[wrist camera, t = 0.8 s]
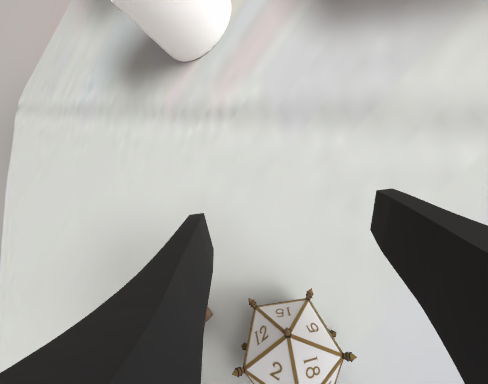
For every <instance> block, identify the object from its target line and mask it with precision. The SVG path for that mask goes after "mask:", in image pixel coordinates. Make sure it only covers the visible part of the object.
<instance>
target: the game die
mask: <svg viewBox="0 0 488 384" xmlns="http://www.w3.org/2000/svg"><path fill="white" fill-rule="evenodd" d="M312 295H314V294H313V292H312V288H311V289H310V290H309V291H307V294H306V298H305V299H299V300H292V301H286V302H279V303H273V304H266V305H260V306H257V305H256V302H255V301H254V300H252V299H250V298H249V305H251V307H253V308H254V313H253V318H252V323H251V328H250V333H249V338H248V343H246V344H245V343H244V344H243V345H242V346H241V347H242V348H243V350H246V354H245V359H244V364H243V367H242V368H241V367H238V368H235V371H234V372H233V374H232V375H235V376H237V377H239V376H240V375H241V376H242V374H243V373H245V374H246V375H247V376H248V378H249V379H250V380H251V382H252V383H253V384H336V381H337V378H338V374H339V371H340V368H341V365H342V362H343V359H345V360H347V361H351V362H352V361H353V360H354V359H355V358H357V357H356V356H355V355H353V354H352V352H349V353H348V352H345V353H343V352H342V351H341V349H340V347H339V346H338V344H337V343H336V341H335V339H334V338H333V337H336V332H334V331H332V330H331V331H329V330H328V328H327V327H326V325H325V323H324V322H323V320H322V319H321V317H320V316H319V314H318V312H317V311H316V309H315V308H314V306H313V304H312V303H311V301H310V299H311V298H312Z"/></svg>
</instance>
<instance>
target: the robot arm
mask: <svg viewBox="0 0 488 384" xmlns="http://www.w3.org/2000/svg"><path fill="white" fill-rule="evenodd" d="M370 230H371V232H372V234H373V236H374V238H375V240H376V242H377V244H378V245H379V247H380V249H381V251H382V252H383V254H384V255H385V256H386V258H387V259H388V261H389V262H390V263H391V265H392V266H393V268H394V269H395V270H396V272H397V273H398V274H399V276H400V277H401V279H402V280H403V281H404V283H405V284H406V285H407V287H408V288H409V290H410V291H411V292H412V294H413V295H414V296H415V298H416V299H417V301H418V302H419V304H420V305H421V307H422V308H423V310H424V311H425V313H426V315H427V316H428V318H429V320H430V321H431V323H432V325H433V326H434V328H435V330H436V332H437V333H438V335H439V337H440V338H441V340H442V342H443V344H444V346H445V347H446V349H447V351H448V353H449V355H450V357H451V358H452V360H453V362H454V364H455V366H456V367H457V369H458V371H459V373H460V375H461V377H462V379H463V381H464V383H465V384H488V226H487V225H484V224H482V223H479V222H476V221H473V220H471V219H468V218H465V217H463V216H460V215H457V214H455V213H452V212H450V211H447V210H445V209H442V208H440V207H437V206H435V205H433V204H430V203H428V202H425V201H423V200H421V199H418V198H416V197H413V196H411V195H408V194H406V193H403V192H400V191H398V190H395V189H385V190H377V191H376V197H375V204H374V210H373V216H372V223H371V229H370ZM212 273H213V246H212V242H211V238H210V235H209V231H208V227H207V223H206V220H205V216H204V213H201V214H193V215H189V216H188V218H187V219H186V220H185V221H184V222H183V224H182V225H181V226H180V227H179V229H178V230H177V231H176V232H175V234H174V235H173V236H172V237H171V238H170V240H169V241H168V242H167V243H166V244H165V245H164V247H163V248H162V249H161V250H160V251H159V252H158V253H157V254H156V255H155V256H154V257H153V259H152V260H151V261H150V262H149V263H148V264H147V265H146V266H145V267H144V268H143V269H142V270H141V271H140V272H139V273H138V274H137V275H136V276H135V277H134V278H133V279H131V280H130V281H129V282H128V283H127V284H126V285H125V286H124V287H123V288H121V289H120V290H119V291H118V292H117V293H115V294H114V295H113V296H112V297H110V298H109V299H108V300H107V301H106V302H104V303H103V304H102V305H101V306H99V307H98V308H97V309H96V310H94V311H93V312H92V313H90V314H89V315H88V316H86V317H85V318H84V319H82V320H81V321H79V322H78V323H77V324H75V325H74V326H73V327H71V328H70V329H68V330H67V331H65V332H64V333H62V334H61V335H60V336H58V337H57V338H55V339H54V340H52V341H51V342H49V343H48V344H46V345H45V346H43V347H41V348H40V349H38V350H37V351H35V352H33V353H32V354H30V355H29V356H27V357H26V358H24V359H22V360H21V361H19V362H18V363H16V364H14V365H13V366H11V367H10V368H8V369H6V370H5V371H3V372H1V373H0V384H201V366H202V348H203V333H204V325H205V317H206V311H207V305H208V299H209V292H210V286H211V279H212Z"/></svg>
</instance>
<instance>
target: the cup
mask: <svg viewBox="0 0 488 384" xmlns="http://www.w3.org/2000/svg"><path fill="white" fill-rule="evenodd" d="M110 1H111V2H112V3H113V4H114V5H116V6H117V7H118V8H119V9H120V10H121V11H122V12H123V13H124V14H125V15H126V16H128V17H129V18H130V19H131V20H132V21H133V22H134V23H135V24H136V25H137V26H139V27H140V28H141V29H142V30H143V31H144V32H145V33H146V34H147V35H148V36H149V37H151V38H152V39H153V40H154V41H155V42H156V43H157V44H158V45H159V46H160V47H161V48H163V49H164V50H165V51H166V52H167V53H168V54H169V55H170V56H172V57H173V58H174V59H176V60H178V61H182V62H186V61H192V60H195V59H197V58H199V57H201V56H203V55H204V54H206V53H207V52H208V51H210V50H211V49H212V48H213V47H214V46H215V45H216V43H217V42H218V41H219V40H220V38H221V37H222V35H223V33H224V32H225V30H226V28H227V25H228V22H229V20H230V15H231V0H110Z"/></svg>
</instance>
